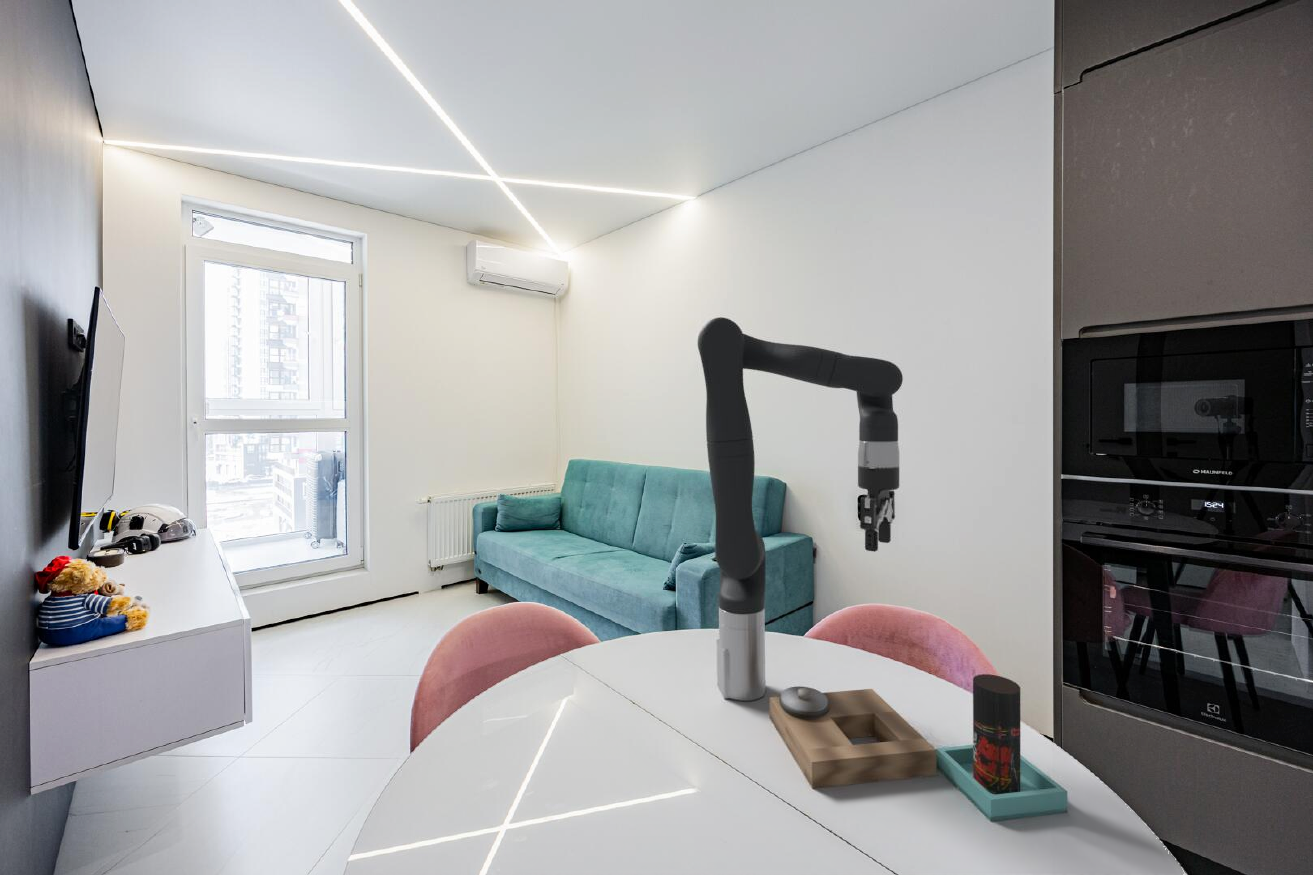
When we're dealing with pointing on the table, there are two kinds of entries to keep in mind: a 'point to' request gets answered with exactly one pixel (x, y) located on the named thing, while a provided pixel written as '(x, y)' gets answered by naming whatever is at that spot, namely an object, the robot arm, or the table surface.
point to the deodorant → (996, 733)
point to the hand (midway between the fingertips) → (878, 546)
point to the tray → (1032, 799)
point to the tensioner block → (831, 718)
